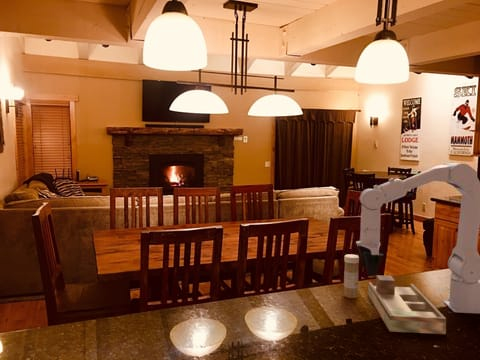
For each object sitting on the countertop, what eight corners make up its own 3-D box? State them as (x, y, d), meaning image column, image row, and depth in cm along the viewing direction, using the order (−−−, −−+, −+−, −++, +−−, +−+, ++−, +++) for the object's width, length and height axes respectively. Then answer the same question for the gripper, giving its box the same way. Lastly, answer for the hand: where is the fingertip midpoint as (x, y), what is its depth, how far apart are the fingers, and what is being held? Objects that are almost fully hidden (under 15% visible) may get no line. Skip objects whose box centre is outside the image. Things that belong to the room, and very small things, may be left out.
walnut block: (390, 289, 126) (390, 275, 125) (394, 294, 121) (395, 280, 121) (375, 288, 126) (376, 275, 126) (379, 294, 122) (379, 280, 121)
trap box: (412, 296, 128) (412, 283, 127) (445, 334, 102) (446, 318, 102) (368, 294, 129) (368, 282, 129) (389, 331, 104) (390, 315, 103)
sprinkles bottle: (351, 292, 131) (352, 253, 130) (361, 297, 127) (362, 256, 126) (340, 294, 129) (341, 254, 128) (349, 299, 125) (351, 258, 124)
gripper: (352, 223, 128) (351, 264, 129) (361, 233, 113) (360, 278, 114) (374, 223, 127) (373, 264, 128) (387, 233, 113) (385, 279, 114)
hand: (369, 271), depth 121 cm, fingers open, 7 cm apart
